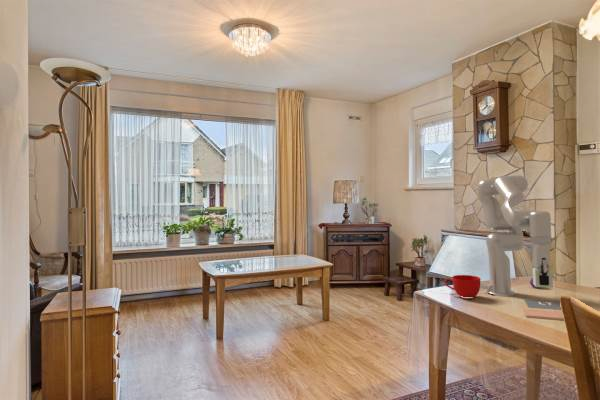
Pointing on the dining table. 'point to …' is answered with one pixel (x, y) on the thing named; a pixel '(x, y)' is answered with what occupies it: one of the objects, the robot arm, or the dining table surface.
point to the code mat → (543, 304)
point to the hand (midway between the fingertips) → (542, 282)
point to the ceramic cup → (465, 285)
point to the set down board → (543, 314)
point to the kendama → (533, 284)
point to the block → (536, 278)
